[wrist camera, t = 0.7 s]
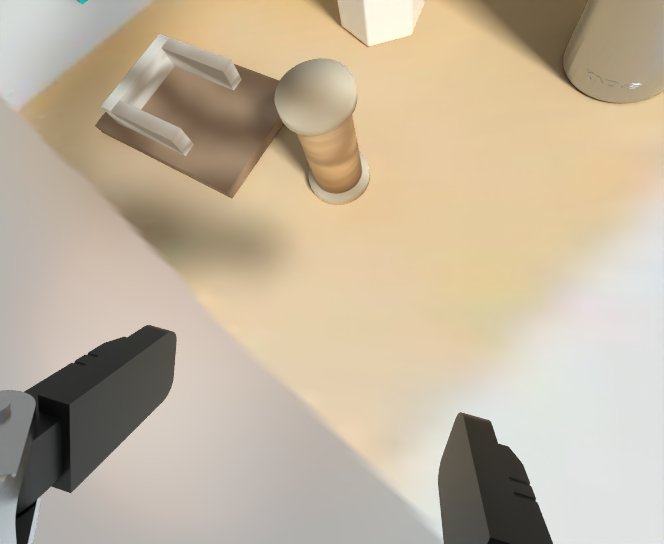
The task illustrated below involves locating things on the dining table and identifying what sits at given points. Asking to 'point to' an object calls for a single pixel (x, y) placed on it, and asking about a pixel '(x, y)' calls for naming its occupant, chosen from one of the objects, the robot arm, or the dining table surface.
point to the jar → (379, 19)
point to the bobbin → (325, 127)
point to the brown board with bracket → (194, 113)
